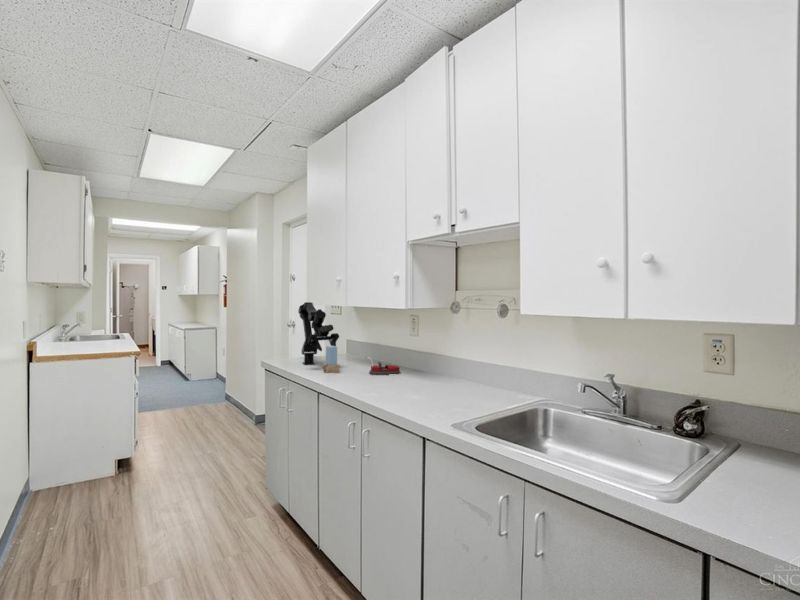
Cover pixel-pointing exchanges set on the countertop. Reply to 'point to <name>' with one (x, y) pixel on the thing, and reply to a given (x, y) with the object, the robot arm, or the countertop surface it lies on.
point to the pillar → (331, 355)
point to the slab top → (330, 367)
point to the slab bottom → (331, 371)
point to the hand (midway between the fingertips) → (328, 350)
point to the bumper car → (383, 369)
